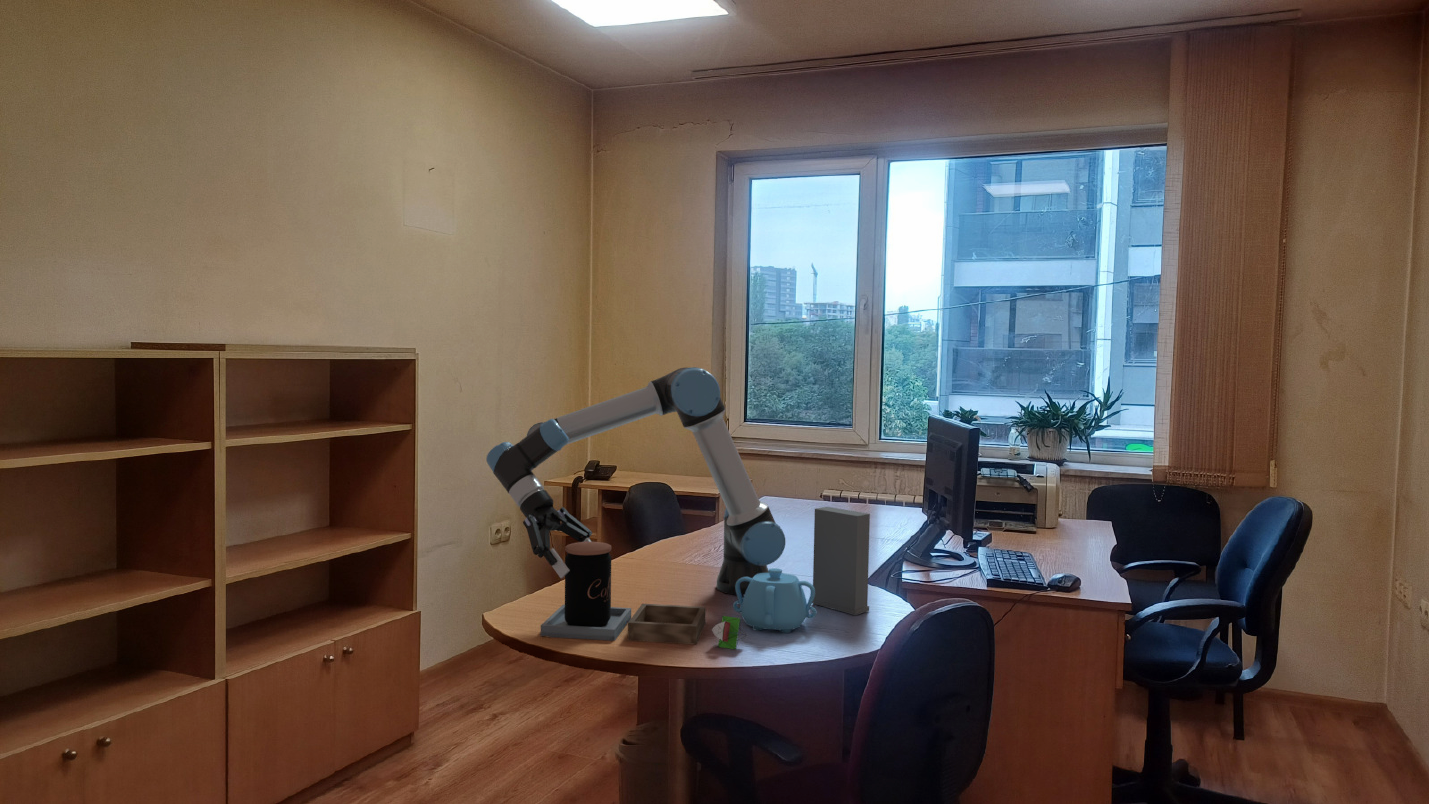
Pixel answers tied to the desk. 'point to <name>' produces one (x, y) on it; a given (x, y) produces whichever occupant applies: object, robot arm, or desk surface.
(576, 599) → the coffee jar
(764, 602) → the decorative pot
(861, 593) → the upright grey slab box
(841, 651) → the desk surface
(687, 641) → the walnut collar
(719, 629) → the geometric puzzle
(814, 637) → the desk surface
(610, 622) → the grey tray
